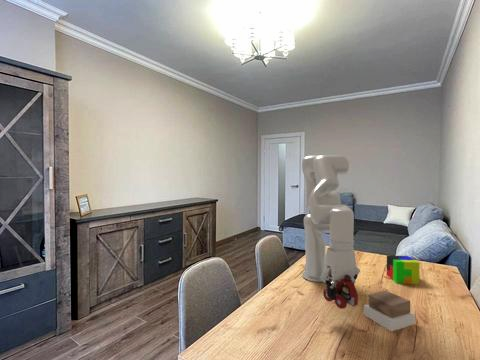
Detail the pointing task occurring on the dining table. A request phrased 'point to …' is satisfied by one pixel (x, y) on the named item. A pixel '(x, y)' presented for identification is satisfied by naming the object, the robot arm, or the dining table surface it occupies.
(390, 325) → the grey block
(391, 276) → the puzzle toy
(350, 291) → the toy fire truck
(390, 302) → the walnut block
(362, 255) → the dining table surface
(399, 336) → the dining table surface
